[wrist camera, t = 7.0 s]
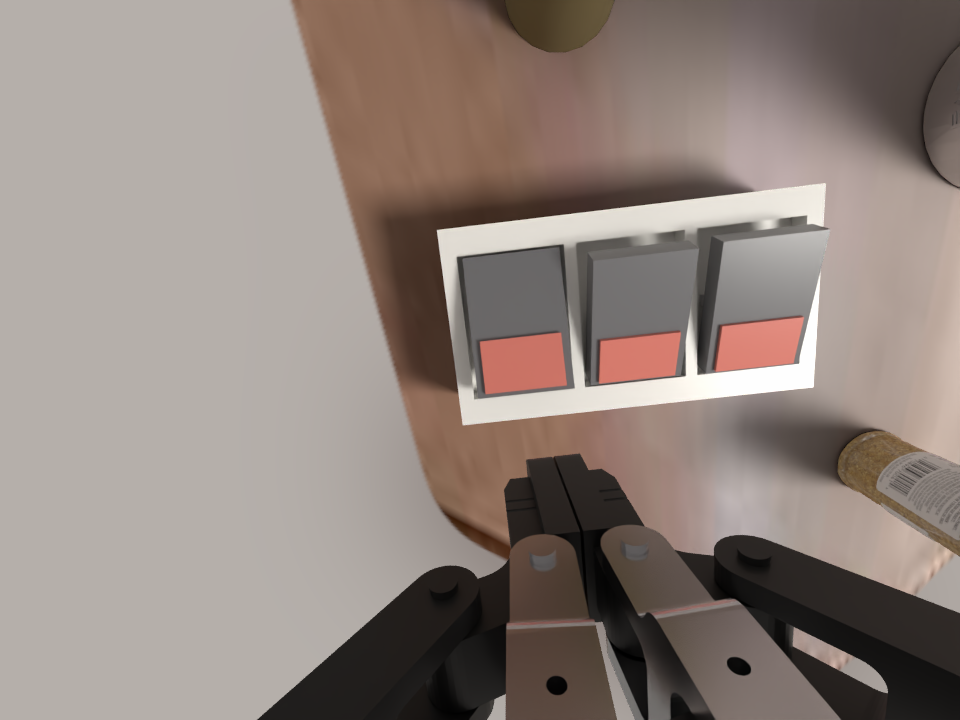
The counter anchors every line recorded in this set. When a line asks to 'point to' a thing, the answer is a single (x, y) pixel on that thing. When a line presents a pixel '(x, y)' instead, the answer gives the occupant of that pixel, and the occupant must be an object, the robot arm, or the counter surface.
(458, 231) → the white switch panel
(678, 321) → the switch middle
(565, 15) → the cork
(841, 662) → the counter surface
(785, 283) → the switch
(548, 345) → the switch
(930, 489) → the sprinkles bottle
